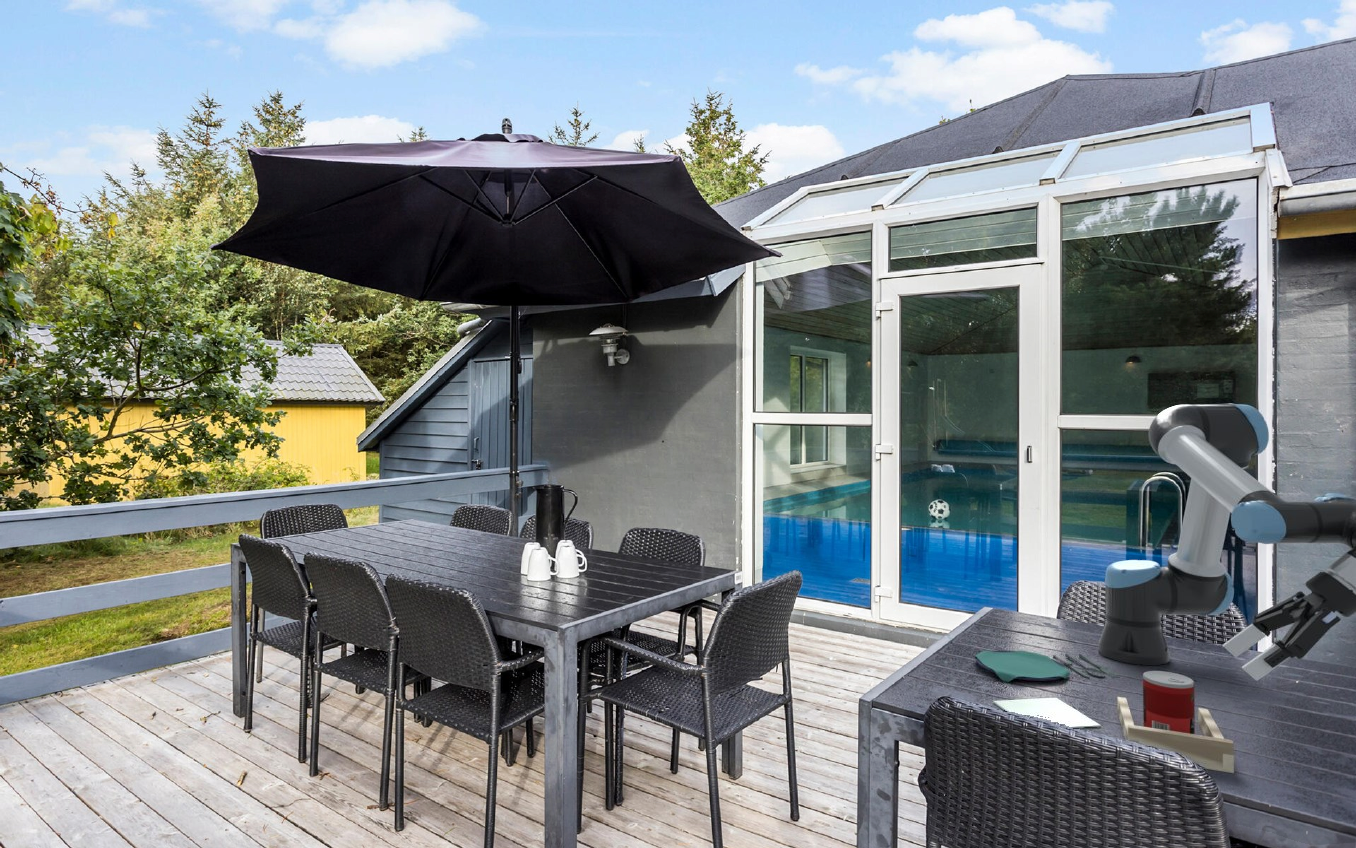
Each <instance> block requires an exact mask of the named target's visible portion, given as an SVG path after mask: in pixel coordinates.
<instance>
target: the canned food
mask: <svg viewBox="0 0 1356 848" xmlns="http://www.w3.org/2000/svg"><path fill="white" fill-rule="evenodd" d="M1194 683H1195V681H1194V680H1193V679H1192V678H1190V677H1189V676H1186V675H1184V674H1180V673H1176V672H1171V671H1164V670H1147V671H1145V672H1143V675H1142V709H1143V718H1142V719H1143V720H1142V721H1143V727H1149V728H1155V729H1162V730H1169V731H1175V732H1182V733H1188V734H1195V735H1196V730H1195V713H1196V712H1195V711H1196V710H1195V709H1196V708H1195V684H1194Z"/></svg>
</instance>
